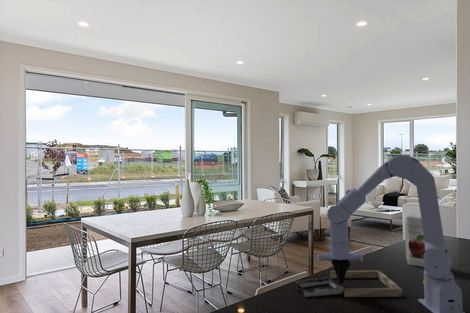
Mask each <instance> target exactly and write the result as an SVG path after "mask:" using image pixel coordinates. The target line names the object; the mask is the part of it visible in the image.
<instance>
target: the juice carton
mask: <svg viewBox="0 0 470 313" xmlns="http://www.w3.org/2000/svg"><path fill="white" fill-rule="evenodd" d="M404 227H405V229H404V231H405V232H404V233H405V256H406V257H405V259H406V262H407V265H409V266H414V267H415V266H416V267H422V268H424V267H423V261H424V259H425V239H424V232H423V226H422V219H421V215H417V214H408V215H407V216H406V217H405V222H404Z"/></svg>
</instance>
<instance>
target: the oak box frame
mask: <svg viewBox="0 0 470 313" xmlns="http://www.w3.org/2000/svg"><path fill="white" fill-rule="evenodd" d="M330 279H337V275H336V272H335V270H330ZM344 279H378V280H379V281H380V282H382V283H383V285H385V286H386V287H349V288H347V287H343V288H344V290H343V296H344V297H345V298H370V297H371V298H377V297H380V298H382V297H383V298H385V297H386V298H389V297H390V298H392V297H393V298H394V297H395V298H396V297H397V298H398V297H403V295H404V294H403V288H402V287H400V285H398V284H396V282H394V281H393V280H392V279H391V278H389V277H388V276H387V275H385V274H384V273H383V271H380V269H378V270H376V269H375V270H372V269H371V270H370V269H369V270H366V269H365V270H347V272H346V275H345V278H344Z"/></svg>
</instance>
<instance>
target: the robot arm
mask: <svg viewBox="0 0 470 313" xmlns="http://www.w3.org/2000/svg"><path fill="white" fill-rule="evenodd" d="M395 177H397V178H400V179H403V180H406V181H407V182H409V183H410V184H413V185H414V186H415V187H416V193H417V199H418V205H419V206H418V207H419V211H420V212H419V214H420V216H421V219H422V226H423V232H424V239H425V259H424V261H423V267H422V268H423V269H424V270H423V289H424V291H423V292H424V293H423V294H424V298H418V300H417V301H418V303H420V304H422V305H423V306H424V307H425V308H426V309H427V310H429V311H430V312H431V313H466V312H465V311H463V310H464V308H463V307H464V306H463V290H462V288H461V287H460V286H459V285H458V284H457V283H456V280H455V277H454V276H455V275H454V273H453V272H452V271H451V266H452V265H453V256H452V254H451V253H450V251H448V250H449V249H447V243H446V241H445V237H444V231H443V230H444V229H443V224H442V219H441V213H440V212H441V211H440V206H439V198H438V192H437V188H436V187H437V186H436V181H435V179H436V178H435V177H434V176H433V174H432V173H431V172H430V171H429V170H428V169H427V168H426V167H425V166H424V165H423V164H422V163H421V162H420V161H419V159H417V158H414V157H413V156H412V155H408V154H404V155H403V154H402V155H401V154H395V155H394V156H392V157H391V158H390V159H389V160H388V161H386V162H384V163H383V164H382V165H381V166H379V167H378V168H377V169H375V171H374V172H373V173H372V174H371V175H370V176H369V177H368V178H367V179H366V180H365V181H364V183H362V184H361V185H360V186H359V188H351V189H347V190H346V191H345V194H344V196H342V198H341V199H340V200H339V199H337V201H336V202H335V203H336V205H331V206H330V207H329V209H328V210H327V213H326V214H327V218H328V220H329V221H330V222H329V226H330V227H329V233H330V238H329V240H330V252H326V253H317V254H316V259H317V261H318V262H325V261H326V262H328V261H329V262H331V265H332V267H333V269H334V271H335V272H336V275H337V278H336V280H337V282H338V284H343V285H344V283H345V279H346V278H345V275H346V272H347V271H349V268H350V266H351V262H350V261H359V262H364V254H362V253H356V252H355V253H353V252H350V249H349V248H350V247H349V246H350V245H349V244H350V243H349V222H348V221H349V219H350V218H351V215H353V214H354V213H355V212H356V211H357V210H359V209H360V208H361V206H363V205H364V204H365V203H366V202H367V195H369V194H370V193H371V192H372V191H373V190H375V189H376V188H377V187H378V186H380V185H381V183H383V182H384V181H385V180H387V179H392V178H395Z"/></svg>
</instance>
